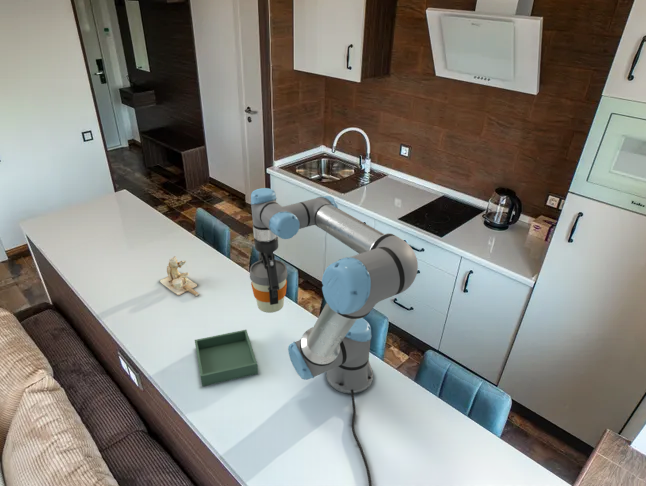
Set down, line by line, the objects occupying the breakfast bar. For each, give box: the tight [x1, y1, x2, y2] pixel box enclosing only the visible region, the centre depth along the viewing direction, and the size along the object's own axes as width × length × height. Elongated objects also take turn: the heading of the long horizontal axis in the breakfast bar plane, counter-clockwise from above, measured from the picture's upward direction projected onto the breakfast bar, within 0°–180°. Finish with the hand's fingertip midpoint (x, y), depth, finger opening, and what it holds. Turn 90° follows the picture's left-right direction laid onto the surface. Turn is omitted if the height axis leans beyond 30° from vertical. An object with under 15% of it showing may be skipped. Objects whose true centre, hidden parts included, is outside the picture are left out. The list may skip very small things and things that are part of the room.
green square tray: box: [194, 329, 259, 387], centre depth 156 cm, size 19×19×5 cm
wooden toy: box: [159, 255, 200, 297], centre depth 192 cm, size 22×10×14 cm, turn 44°
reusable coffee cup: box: [249, 259, 288, 314], centre depth 153 cm, size 13×13×15 cm
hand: (269, 292), depth 154 cm, fingers closed on reusable coffee cup, 12 cm apart
